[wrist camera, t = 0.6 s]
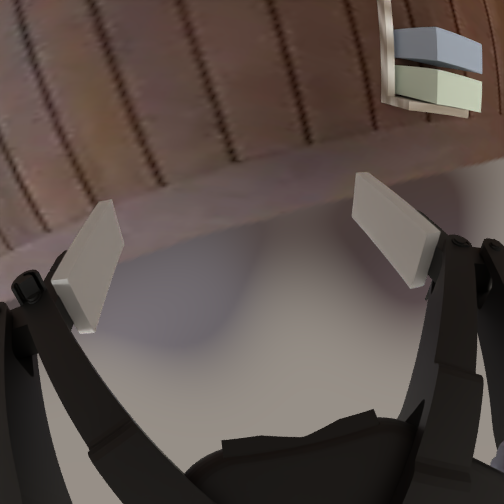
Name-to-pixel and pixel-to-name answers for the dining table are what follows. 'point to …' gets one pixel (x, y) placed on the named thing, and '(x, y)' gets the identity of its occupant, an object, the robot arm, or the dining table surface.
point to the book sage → (438, 87)
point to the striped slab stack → (389, 71)
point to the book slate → (438, 48)
